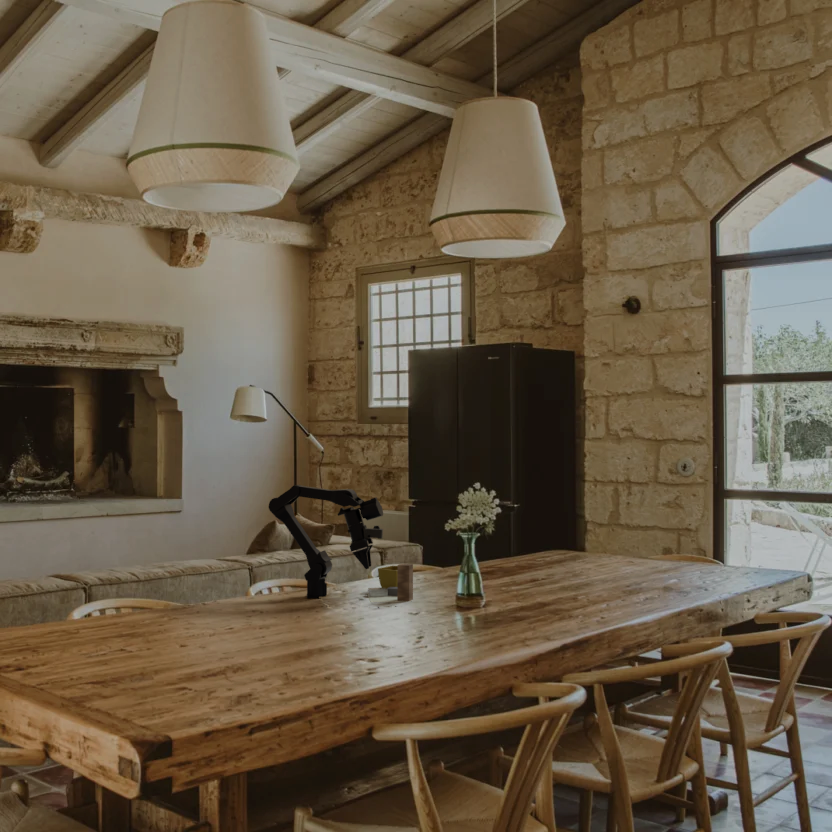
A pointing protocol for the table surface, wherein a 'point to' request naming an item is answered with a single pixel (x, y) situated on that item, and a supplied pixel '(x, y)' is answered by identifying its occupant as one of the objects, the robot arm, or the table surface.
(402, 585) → the walnut post
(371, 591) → the grey metal block
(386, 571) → the flower pot
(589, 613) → the table surface
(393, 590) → the black rubber block
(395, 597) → the sage board
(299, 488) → the robot arm
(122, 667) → the table surface
